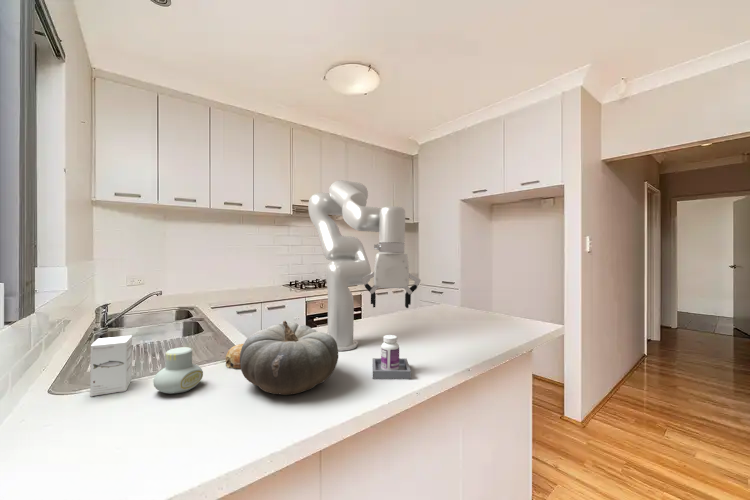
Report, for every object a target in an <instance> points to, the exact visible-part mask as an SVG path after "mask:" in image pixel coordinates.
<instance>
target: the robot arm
mask: <svg viewBox="0 0 750 500" xmlns="http://www.w3.org/2000/svg"><path fill="white" fill-rule="evenodd" d="M368 197H369V191H368V189H367V187H366V186H365V184H363V183H361V182H356V181H349V180H336V181H334V182H332V183H331V185H330V186H329V188H328V192H316V193H314V194H312V195H311V196H310V198H309V200H308V203H307V204H308V205H307V206H308V210H307V211H308V215H309V218H310V221H311V223H312V224H313V227H314V229H315V230H316V233H317V236H318V240H319V242H320V247H321V250H322V253H323V256H324V258H326V259H325V260H328V261H330V262H329V263H328V264H327V265H326V267H325V271H324V272H325V273H324V275H325V276H324V277H325V281H326V288H327V289H326V290H327V332H326V333H327V334H329V335H331V336H332V337H333V338H334V339H335V341H336V343H337V347H338V352H344V351H351V350H354V349H356V348H357V347H358V341H357V340H355V339H354V331H355V330H354V326H355V325H354V315H355V314H354V310H355V306H354V303H355V302H354V301H355V300H354V295H353V293H352V291H351V290H350V288H349V287H351V286H362V285H363V286H364V288H365V289H366V290H367V291H368V292H369V294H370V305H372V308H376V305H377V304H376V302H377V301H376V299H377V298H376V297H377V296H376V295H377V294H376V291H377V290H378V289H379V288H380V289H404V290H405V291H406V292H405V293H404V307H405V308H406V309H409V307H410V306H411V303H412V302H411V301H412V294H413V293H414V292H415V291H416V290H417V289H418V287H419V286H420V283H421V281H422V280H421V279H420V278H419V277H417V276H415V275H414V274H411V273H410V268H409V258H408V253H405V249H406V248H405V245H406V243H405V242H406V237H405V236H406V235H405V234H406V210H405V208H404V207H403V206H399V205H398V206H395V205H388V206H382V207H376V206H375V207H373V206H367V200H368ZM329 215H331V216H342V218H343V220H344V222H345V223H346V224H347V225H348V226H349V227H350V228H352V229H354V230H355V231H358V232H375V233H379V234H378V243H377V244H374V245H373V249H374V250H377V251H378V253H375V260H374V265H373V267H374V268H373V271H372V268H371V265H370V262H369V259H368V256H367V253H366V249H365V247H364V245H363V242H362V241H361V240H360V239H359V238H358V237H356V236H346V235H345V236H344V235H342V233H341V232H340V227H339V226H338V224H337V223H336V221H335V220H334V219H333V218H331V217H330V216H329ZM372 279H373V285H372V286H371V285H370V284H369V282H370V281H371V280H372ZM410 279H411V280H412V281H414V282H413V285H411V286H410V287H409V285H410ZM409 305H410V306H409Z"/></svg>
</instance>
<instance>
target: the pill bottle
mask: <svg viewBox="0 0 750 500" xmlns="http://www.w3.org/2000/svg"><path fill="white" fill-rule="evenodd" d="M380 347H381V348H380V358H381V368H382V370H398V369H399V358H400V344H399V343H398V336H397V335H394V334H386V335H383V342H382V343H381V346H380Z"/></svg>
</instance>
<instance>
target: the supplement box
mask: <svg viewBox="0 0 750 500" xmlns="http://www.w3.org/2000/svg"><path fill="white" fill-rule="evenodd" d="M132 343H133V335H123V336H112V337H110V336H109V337H102V338H101V337H100V338H97V339H96V340H95V341H93V342H92V344H91V345H90V369H89V370H90V374H89V376H90V381H89V382H90V383H89V389H90V390H89V395H90V397H94V396H100V395H108V394H115V393H120V392H126V391H127V390H128V388H129V385H130V384H131V381H132V358H133V357H132V351H133V350H132V349H133V348H132V345H133V344H132Z"/></svg>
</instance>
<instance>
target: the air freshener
mask: <svg viewBox="0 0 750 500" xmlns="http://www.w3.org/2000/svg"><path fill="white" fill-rule="evenodd" d="M164 365H165V366H164V367H163V368H161V370H159V371H158V372H157V373H156V374H155V376H154V377H153V381H152V383H153V387H154V388H155V390H157V391H159V392H160V393H163V394H168V395H169V394H172V395H175V394H181V393H186V392H188V391H190V390H191V389H193V388H195V387H196V386H197V385H198V384H200V382H201V381H202V379H203V377H204V371H203V368H202V367H200V366H199V365H197V364H195V363H193V349H192V348H191V347H187V346H186V347H185V346H182V347H181V346H180V347H175V348H171V349H168V350H166V352H165V363H164Z"/></svg>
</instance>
